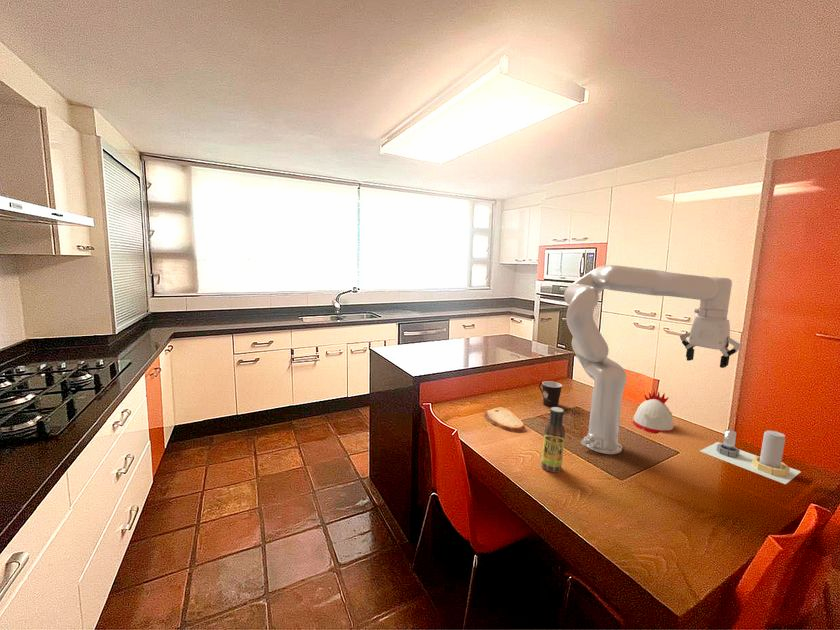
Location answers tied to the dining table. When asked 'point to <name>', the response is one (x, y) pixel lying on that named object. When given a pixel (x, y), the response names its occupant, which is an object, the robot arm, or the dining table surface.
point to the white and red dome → (654, 415)
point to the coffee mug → (551, 393)
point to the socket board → (751, 463)
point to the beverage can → (772, 449)
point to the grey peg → (729, 440)
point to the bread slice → (504, 419)
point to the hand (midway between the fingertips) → (705, 363)
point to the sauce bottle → (553, 441)
